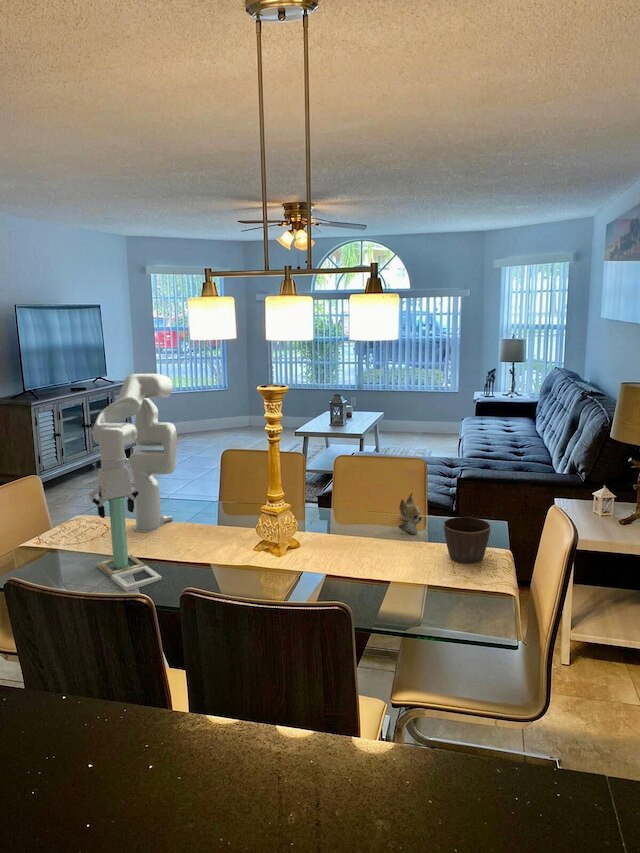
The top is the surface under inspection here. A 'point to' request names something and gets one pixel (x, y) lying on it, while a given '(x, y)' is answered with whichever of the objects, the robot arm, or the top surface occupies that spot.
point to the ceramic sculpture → (409, 516)
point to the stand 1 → (109, 572)
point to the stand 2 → (134, 585)
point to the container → (118, 532)
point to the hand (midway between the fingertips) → (116, 514)
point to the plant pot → (466, 539)
